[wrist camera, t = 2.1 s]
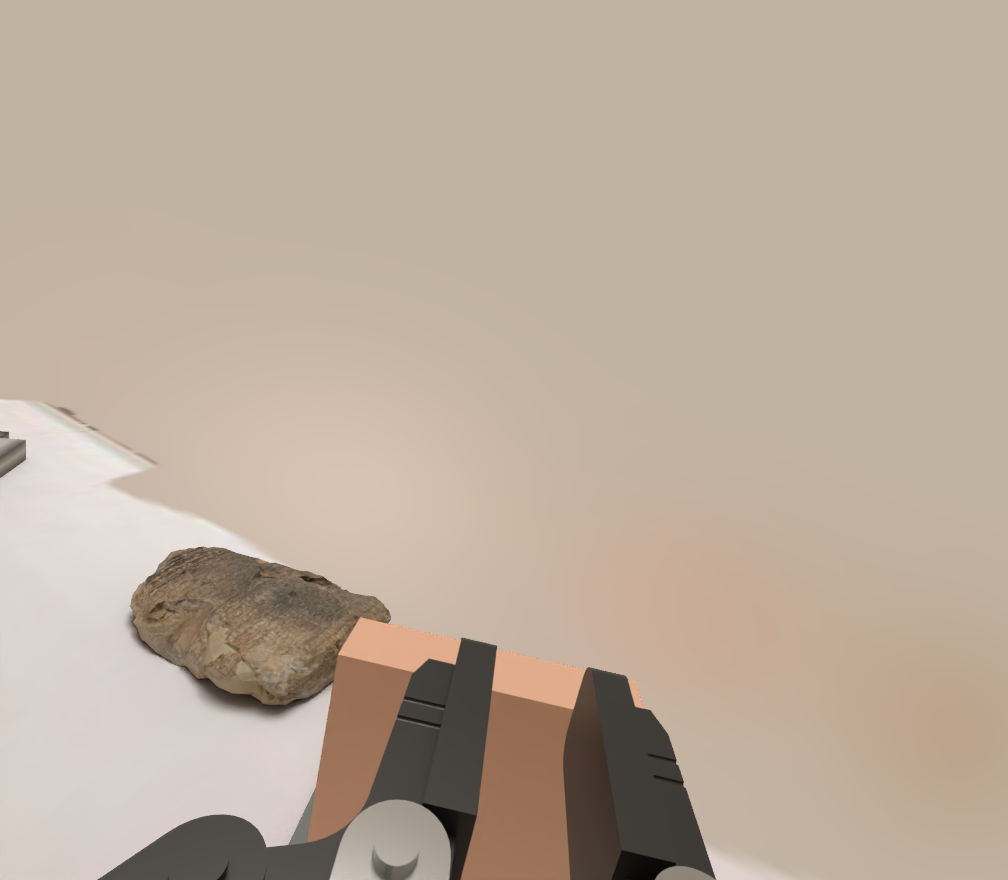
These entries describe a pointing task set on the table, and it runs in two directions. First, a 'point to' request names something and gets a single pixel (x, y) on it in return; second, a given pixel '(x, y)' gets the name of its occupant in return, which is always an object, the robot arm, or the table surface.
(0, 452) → the grey square tray
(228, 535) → the table surface
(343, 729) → the terracotta tile
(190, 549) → the clay tablet
